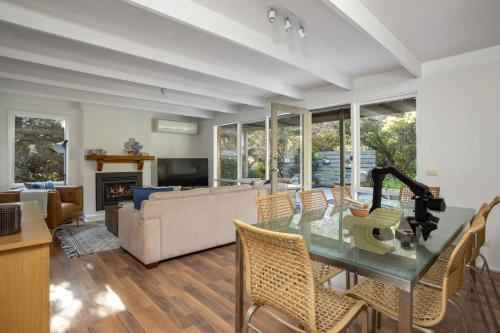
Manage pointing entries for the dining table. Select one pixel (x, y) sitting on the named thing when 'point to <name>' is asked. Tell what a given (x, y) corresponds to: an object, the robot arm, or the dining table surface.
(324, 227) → the dining table surface
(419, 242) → the square bit
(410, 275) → the dining table surface
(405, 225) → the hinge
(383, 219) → the slatted curved stool
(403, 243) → the cylinder
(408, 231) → the socket block
